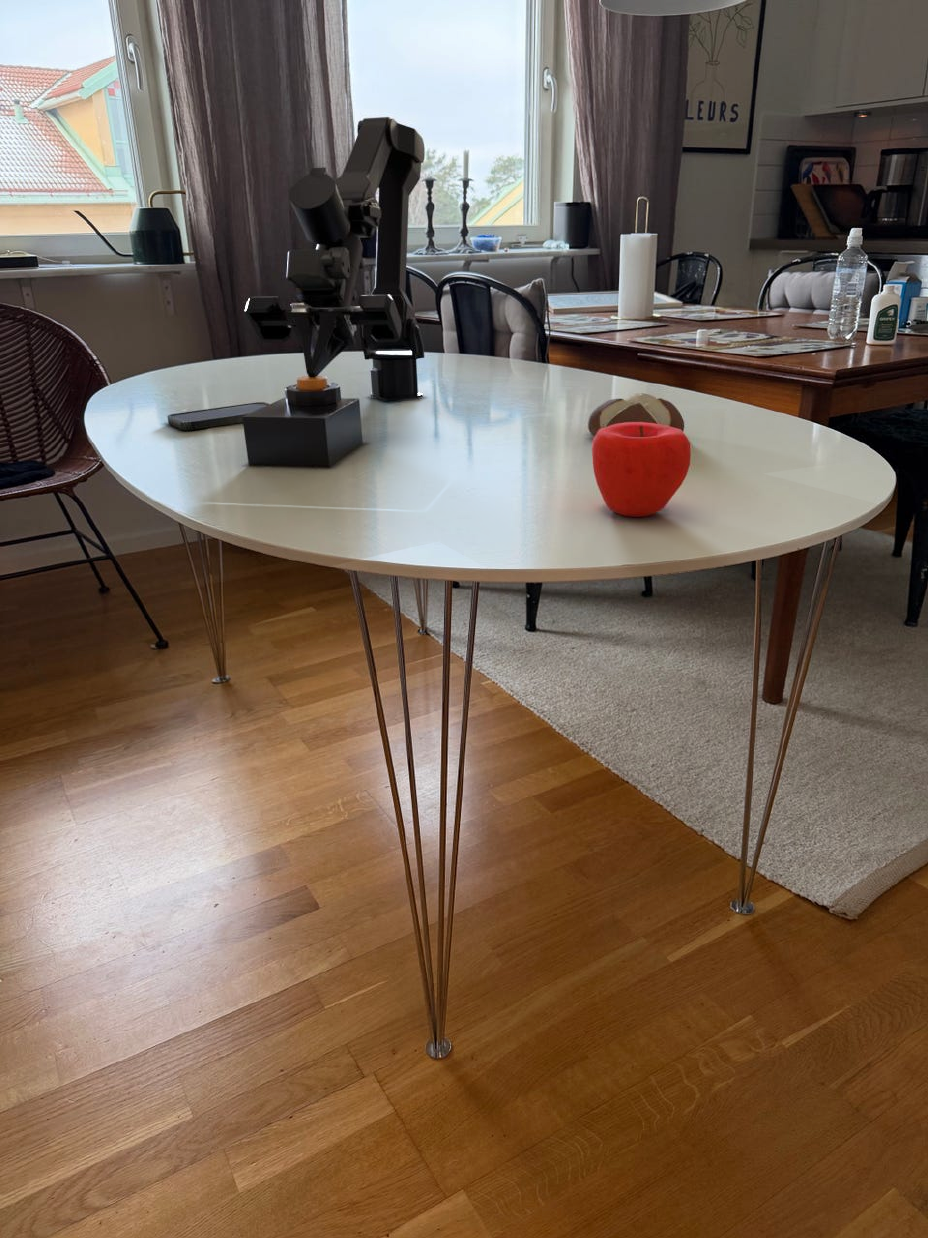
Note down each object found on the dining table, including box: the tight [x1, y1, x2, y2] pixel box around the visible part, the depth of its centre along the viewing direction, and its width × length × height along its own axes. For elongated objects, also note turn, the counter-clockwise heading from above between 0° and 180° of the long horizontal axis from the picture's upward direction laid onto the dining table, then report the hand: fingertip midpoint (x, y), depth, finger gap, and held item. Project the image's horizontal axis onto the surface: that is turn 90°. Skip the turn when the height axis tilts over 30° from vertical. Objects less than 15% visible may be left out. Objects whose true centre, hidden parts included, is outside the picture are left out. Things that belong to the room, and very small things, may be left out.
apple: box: [591, 422, 692, 518], centre depth 78 cm, size 9×9×8 cm
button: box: [296, 375, 328, 390], centre depth 104 cm, size 4×4×2 cm
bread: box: [587, 393, 685, 437], centre depth 106 cm, size 11×11×5 cm
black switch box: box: [242, 381, 364, 469], centre depth 103 cm, size 13×10×8 cm
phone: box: [166, 401, 270, 431], centre depth 124 cm, size 8×1×15 cm
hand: (310, 375), depth 103 cm, fingers closed, pressing on button
